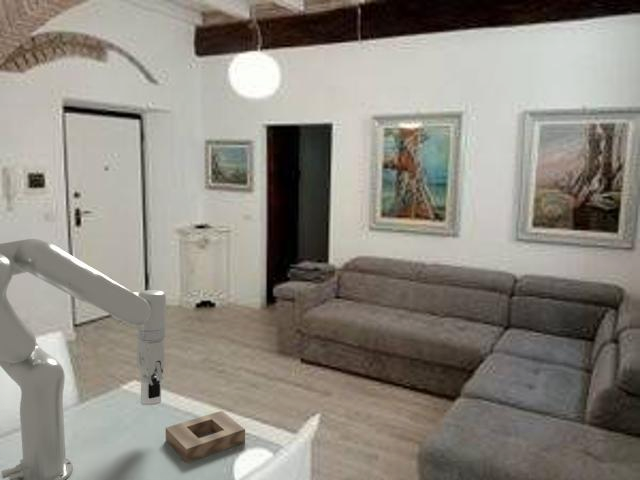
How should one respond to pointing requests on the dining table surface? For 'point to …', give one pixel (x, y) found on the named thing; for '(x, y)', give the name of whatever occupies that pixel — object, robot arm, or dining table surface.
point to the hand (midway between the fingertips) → (151, 393)
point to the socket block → (194, 447)
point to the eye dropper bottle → (144, 392)
